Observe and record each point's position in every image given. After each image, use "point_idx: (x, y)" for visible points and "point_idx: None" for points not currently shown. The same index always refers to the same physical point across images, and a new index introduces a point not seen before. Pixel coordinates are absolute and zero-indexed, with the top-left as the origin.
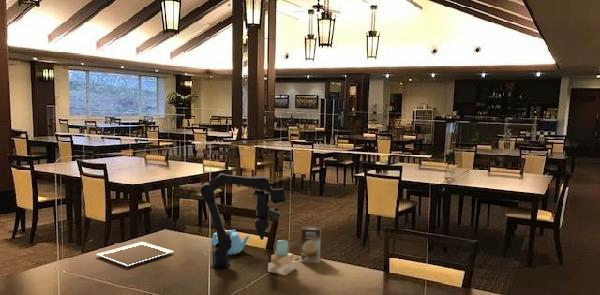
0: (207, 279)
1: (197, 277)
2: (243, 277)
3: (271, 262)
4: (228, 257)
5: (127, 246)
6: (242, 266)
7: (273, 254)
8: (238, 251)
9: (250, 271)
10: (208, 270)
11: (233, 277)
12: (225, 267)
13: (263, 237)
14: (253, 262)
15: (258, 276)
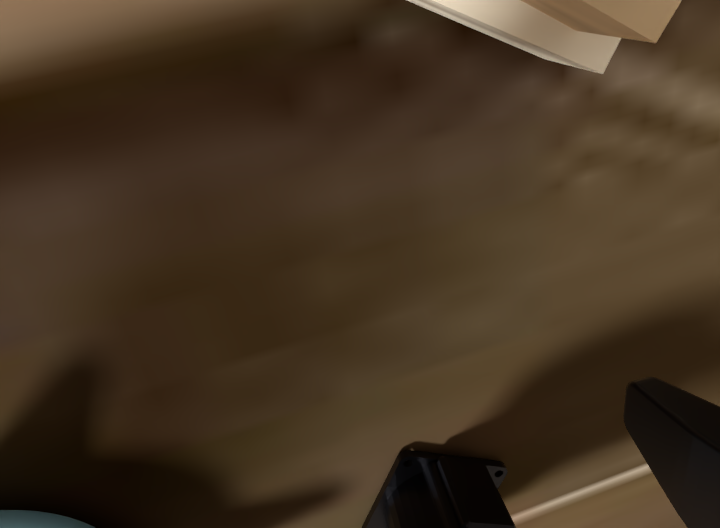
0: None
1: (638, 519)
2: (682, 260)
3: (581, 28)
4: (472, 519)
5: None
6: (413, 354)
7: (614, 8)
8: (57, 526)
9: (542, 247)
10: (518, 521)
11: (670, 332)
12: (466, 457)
13: (718, 409)
14: (277, 297)
15: (680, 132)
